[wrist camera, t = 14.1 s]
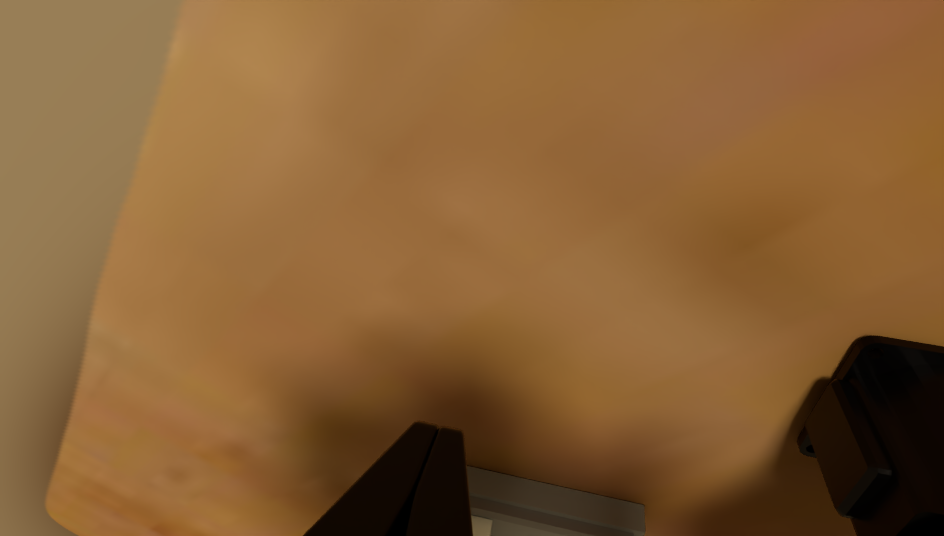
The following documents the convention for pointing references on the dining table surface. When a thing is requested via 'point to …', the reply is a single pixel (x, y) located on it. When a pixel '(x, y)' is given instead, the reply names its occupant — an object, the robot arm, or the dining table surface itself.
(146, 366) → the dining table surface
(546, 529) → the switch bank
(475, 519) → the tab
